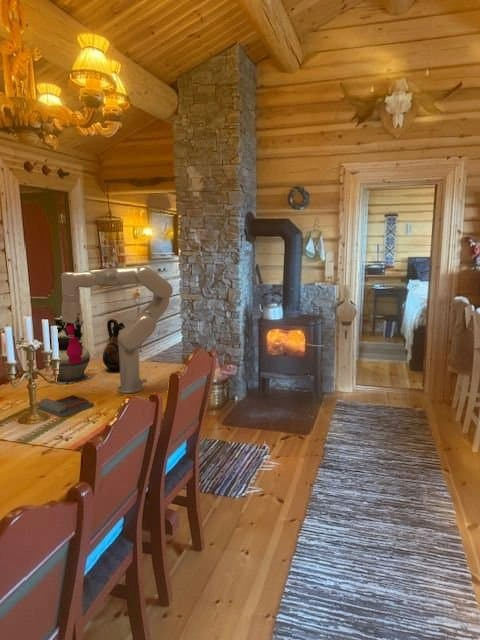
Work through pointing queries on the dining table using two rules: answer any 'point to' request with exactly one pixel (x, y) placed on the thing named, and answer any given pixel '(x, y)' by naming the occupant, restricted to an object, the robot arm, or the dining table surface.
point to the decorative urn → (68, 370)
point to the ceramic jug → (112, 347)
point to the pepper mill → (73, 346)
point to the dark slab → (65, 405)
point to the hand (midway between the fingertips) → (73, 336)
